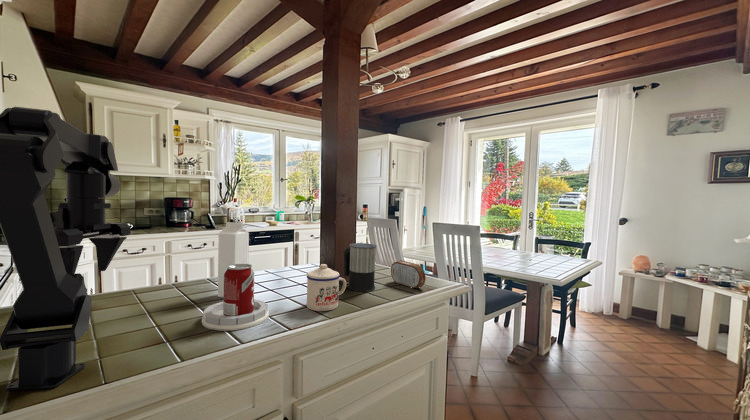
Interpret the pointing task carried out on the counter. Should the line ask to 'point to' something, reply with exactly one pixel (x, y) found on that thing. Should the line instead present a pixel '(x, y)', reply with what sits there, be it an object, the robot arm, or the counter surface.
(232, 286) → the soda can
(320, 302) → the teacup with lid
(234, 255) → the milk
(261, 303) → the ring tray
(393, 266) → the tin
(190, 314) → the counter surface
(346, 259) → the milk frother
